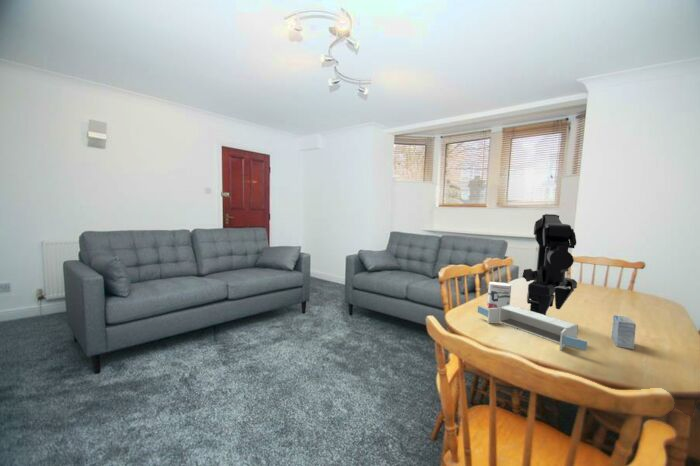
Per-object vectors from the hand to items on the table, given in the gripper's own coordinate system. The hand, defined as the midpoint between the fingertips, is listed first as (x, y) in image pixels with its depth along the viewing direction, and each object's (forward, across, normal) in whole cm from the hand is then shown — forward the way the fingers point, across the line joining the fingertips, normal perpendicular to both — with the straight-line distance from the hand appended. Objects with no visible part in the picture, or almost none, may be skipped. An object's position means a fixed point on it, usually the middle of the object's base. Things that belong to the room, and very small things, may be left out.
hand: (550, 311), depth 97 cm
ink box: (+13, -21, -31) cm, 40 cm away
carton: (+12, -10, -9) cm, 18 cm away
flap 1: (+12, -4, -24) cm, 27 cm away
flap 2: (+12, -4, +6) cm, 14 cm away
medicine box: (+12, -26, +11) cm, 31 cm away
